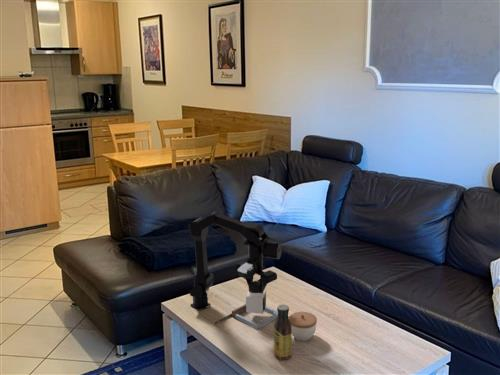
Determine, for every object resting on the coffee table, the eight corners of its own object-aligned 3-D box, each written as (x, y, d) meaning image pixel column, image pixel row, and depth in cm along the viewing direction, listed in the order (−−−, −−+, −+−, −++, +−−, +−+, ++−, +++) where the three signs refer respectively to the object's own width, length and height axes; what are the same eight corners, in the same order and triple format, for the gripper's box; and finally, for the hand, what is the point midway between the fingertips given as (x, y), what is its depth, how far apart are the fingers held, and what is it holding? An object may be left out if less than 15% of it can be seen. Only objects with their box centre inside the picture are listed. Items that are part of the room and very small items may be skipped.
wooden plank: (232, 315, 204) (231, 310, 204) (255, 303, 214) (255, 299, 213) (233, 316, 204) (233, 311, 203) (256, 304, 213) (256, 299, 213)
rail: (214, 323, 199) (214, 322, 199) (253, 303, 215) (253, 302, 214) (215, 324, 199) (215, 322, 198) (254, 304, 214) (254, 302, 214)
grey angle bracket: (235, 318, 203) (235, 312, 202) (258, 306, 213) (258, 300, 212) (257, 329, 194) (257, 323, 194) (280, 315, 204) (280, 310, 203)
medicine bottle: (263, 314, 199) (262, 287, 196) (246, 312, 201) (245, 285, 198) (266, 305, 206) (265, 279, 203) (249, 304, 207) (249, 278, 204)
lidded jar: (319, 331, 192) (319, 309, 189) (313, 346, 182) (313, 323, 180) (292, 327, 195) (292, 305, 193) (285, 341, 186) (285, 319, 183)
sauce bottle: (273, 351, 179) (272, 302, 174) (289, 350, 180) (290, 301, 175) (275, 362, 173) (275, 311, 168) (292, 361, 173) (293, 310, 168)
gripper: (225, 254, 198) (226, 290, 202) (258, 267, 185) (258, 305, 189) (244, 247, 206) (245, 281, 210) (278, 259, 193) (278, 295, 197)
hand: (255, 290), depth 201 cm, fingers closed on medicine bottle, 6 cm apart
